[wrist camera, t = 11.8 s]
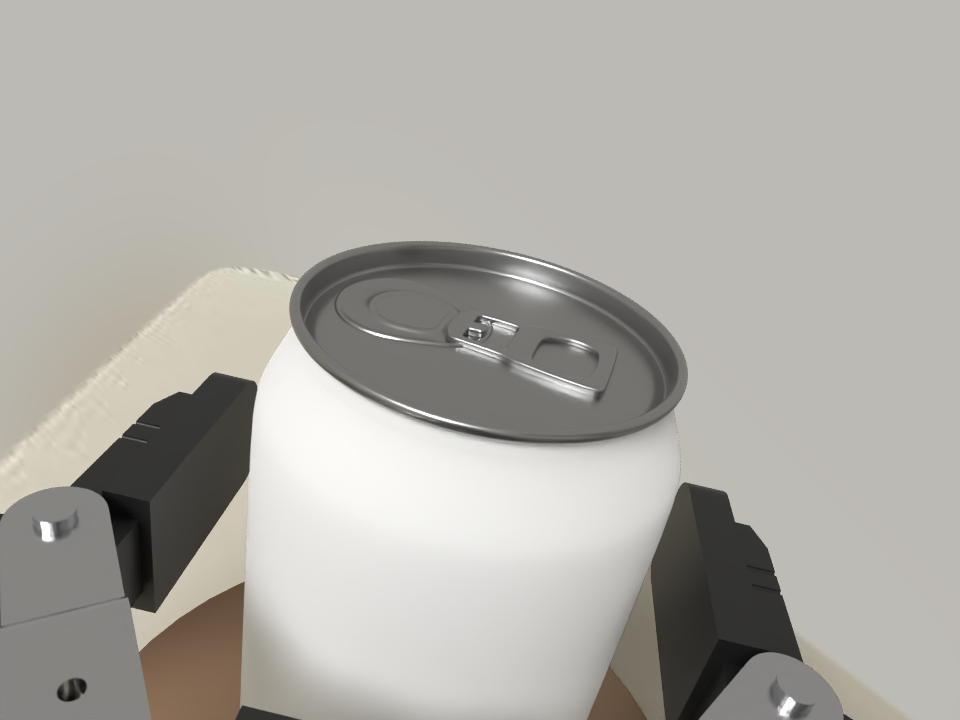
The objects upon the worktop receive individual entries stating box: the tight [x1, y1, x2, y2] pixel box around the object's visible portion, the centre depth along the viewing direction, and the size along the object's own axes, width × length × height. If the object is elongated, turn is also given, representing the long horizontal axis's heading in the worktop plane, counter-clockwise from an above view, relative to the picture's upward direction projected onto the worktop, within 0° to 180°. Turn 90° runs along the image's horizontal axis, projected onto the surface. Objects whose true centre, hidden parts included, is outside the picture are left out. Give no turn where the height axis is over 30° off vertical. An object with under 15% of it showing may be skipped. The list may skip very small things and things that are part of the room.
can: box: [240, 241, 688, 720], centre depth 13 cm, size 6×6×12 cm
